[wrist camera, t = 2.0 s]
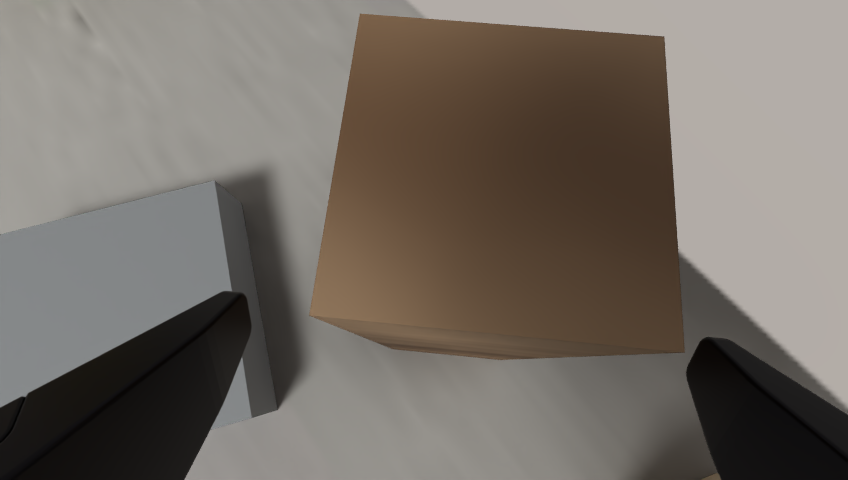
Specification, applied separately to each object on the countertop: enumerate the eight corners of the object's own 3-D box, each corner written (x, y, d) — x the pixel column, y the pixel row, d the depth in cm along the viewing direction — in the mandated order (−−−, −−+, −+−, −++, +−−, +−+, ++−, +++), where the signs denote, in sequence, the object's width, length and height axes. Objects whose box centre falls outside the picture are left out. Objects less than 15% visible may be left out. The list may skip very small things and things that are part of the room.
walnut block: (500, 359, 18) (685, 351, 5) (392, 348, 18) (309, 315, 5) (505, 254, 19) (663, 37, 6) (404, 245, 19) (359, 13, 6)
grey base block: (280, 409, 17) (251, 417, 15) (53, 475, 17) (-25, 498, 14) (245, 206, 20) (214, 180, 17) (45, 258, 19) (-23, 240, 16)
